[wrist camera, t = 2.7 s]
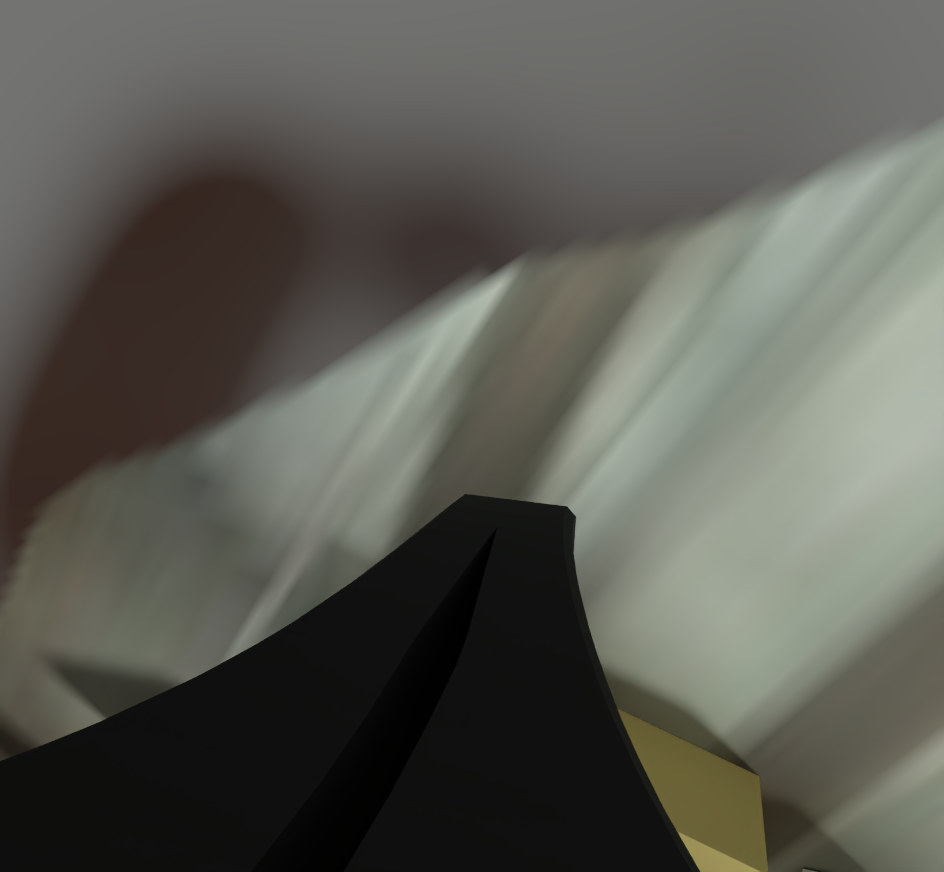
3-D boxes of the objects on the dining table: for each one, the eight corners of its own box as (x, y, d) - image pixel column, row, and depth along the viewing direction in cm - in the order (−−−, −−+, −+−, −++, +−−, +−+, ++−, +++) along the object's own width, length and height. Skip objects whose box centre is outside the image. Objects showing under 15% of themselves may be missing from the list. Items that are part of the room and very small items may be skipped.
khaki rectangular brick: (758, 764, 17) (768, 875, 14) (687, 844, 18) (686, 956, 16) (405, 596, 17) (363, 680, 15) (363, 689, 18) (319, 778, 16)
